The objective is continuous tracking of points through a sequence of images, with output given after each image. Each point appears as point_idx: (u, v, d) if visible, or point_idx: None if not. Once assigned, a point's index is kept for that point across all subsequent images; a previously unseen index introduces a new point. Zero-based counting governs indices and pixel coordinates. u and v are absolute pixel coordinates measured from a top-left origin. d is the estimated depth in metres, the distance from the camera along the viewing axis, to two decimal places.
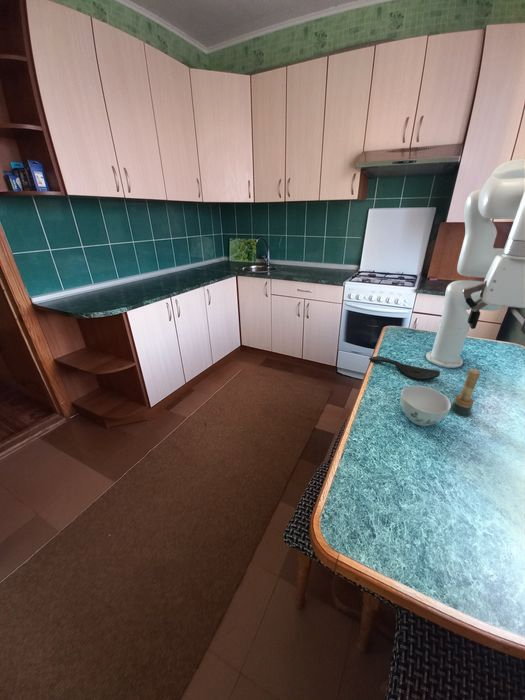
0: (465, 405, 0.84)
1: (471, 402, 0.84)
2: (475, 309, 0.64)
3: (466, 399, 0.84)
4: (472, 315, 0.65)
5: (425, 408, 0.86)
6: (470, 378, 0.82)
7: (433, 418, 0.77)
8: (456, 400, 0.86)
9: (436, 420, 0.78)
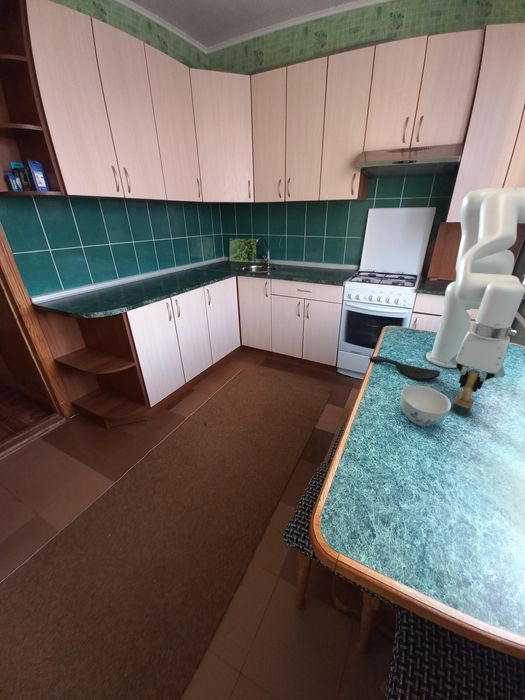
0: (465, 405, 0.84)
1: (471, 402, 0.84)
2: (462, 373, 0.83)
3: (466, 399, 0.84)
4: (461, 377, 0.84)
5: (425, 408, 0.86)
6: (470, 378, 0.82)
7: (433, 418, 0.77)
8: (456, 400, 0.86)
9: (436, 420, 0.78)
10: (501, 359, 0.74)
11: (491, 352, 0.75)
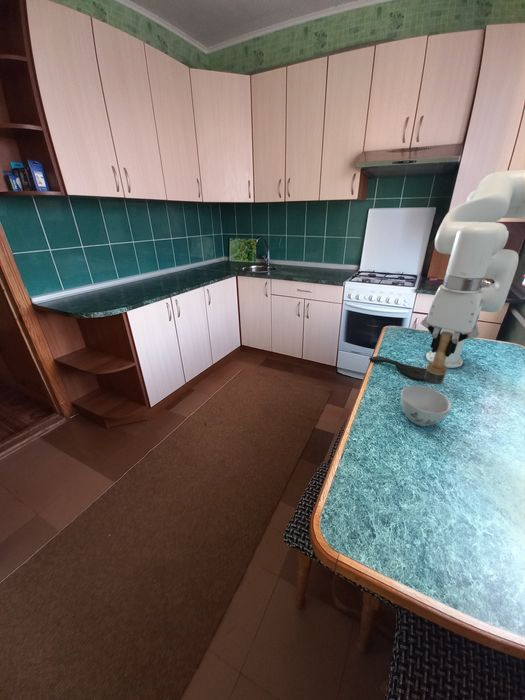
0: (438, 372, 0.76)
1: (444, 369, 0.76)
2: (434, 336, 0.74)
3: (439, 365, 0.76)
4: (433, 341, 0.75)
5: (425, 408, 0.86)
6: (442, 340, 0.73)
7: (433, 418, 0.77)
8: (428, 367, 0.78)
9: (436, 420, 0.78)
10: (474, 315, 0.66)
11: (464, 309, 0.67)
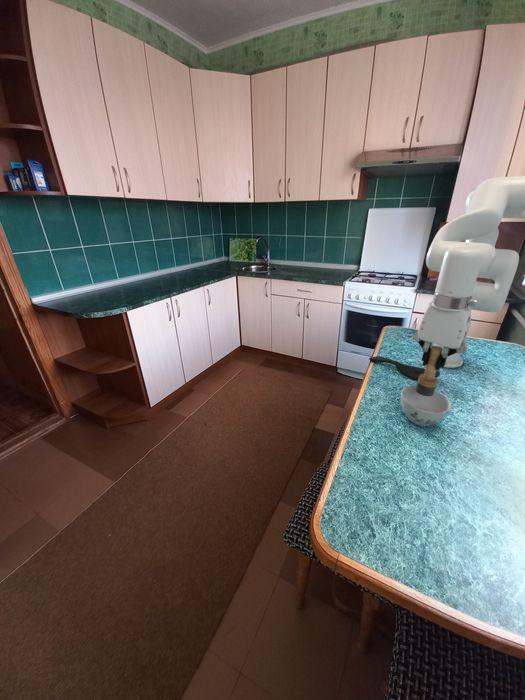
0: (428, 385, 0.79)
1: (435, 381, 0.79)
2: (425, 350, 0.77)
3: (429, 378, 0.79)
4: (423, 354, 0.78)
5: (425, 408, 0.86)
6: (432, 355, 0.76)
7: (433, 418, 0.77)
8: (419, 380, 0.81)
9: (436, 420, 0.78)
10: (462, 332, 0.69)
11: (452, 325, 0.70)
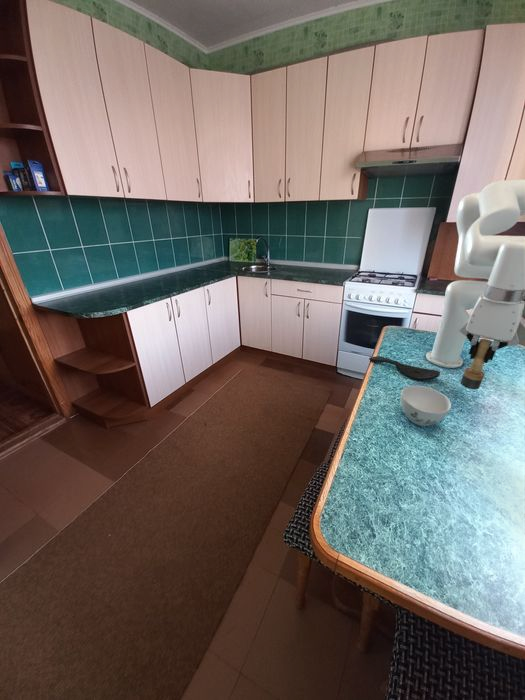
0: (475, 378, 0.80)
1: (482, 374, 0.80)
2: (473, 343, 0.78)
3: (476, 371, 0.80)
4: (471, 348, 0.79)
5: (425, 408, 0.86)
6: (481, 348, 0.77)
7: (433, 418, 0.77)
8: (466, 373, 0.81)
9: (436, 420, 0.78)
10: (515, 325, 0.70)
11: (505, 318, 0.71)
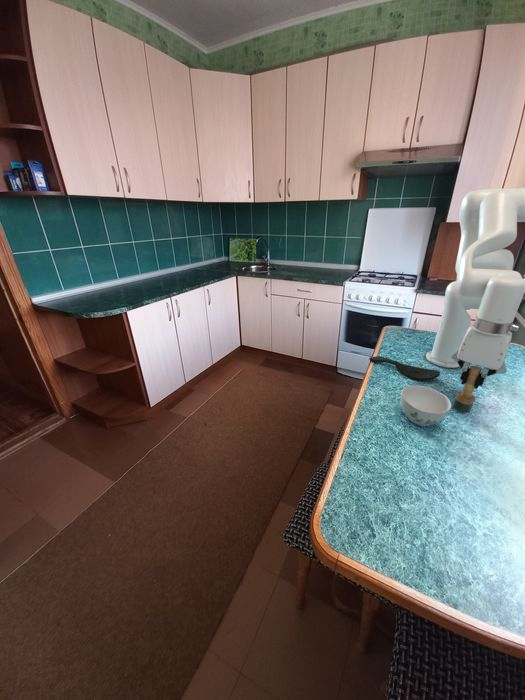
0: (466, 402, 0.83)
1: (472, 399, 0.83)
2: (464, 369, 0.82)
3: (467, 396, 0.84)
4: (462, 373, 0.83)
5: (425, 408, 0.86)
6: (471, 374, 0.81)
7: (433, 418, 0.77)
8: (457, 397, 0.85)
9: (436, 420, 0.78)
10: (503, 355, 0.74)
11: (493, 348, 0.74)
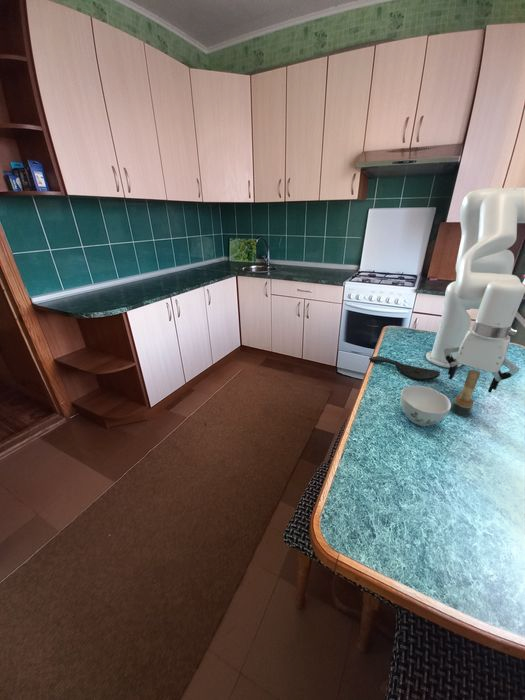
0: (465, 405, 0.84)
1: (471, 402, 0.84)
2: (451, 365, 0.84)
3: (466, 399, 0.84)
4: (450, 369, 0.85)
5: (425, 408, 0.86)
6: (470, 378, 0.81)
7: (433, 418, 0.77)
8: (456, 400, 0.86)
9: (436, 420, 0.78)
10: (501, 358, 0.74)
11: (492, 352, 0.75)
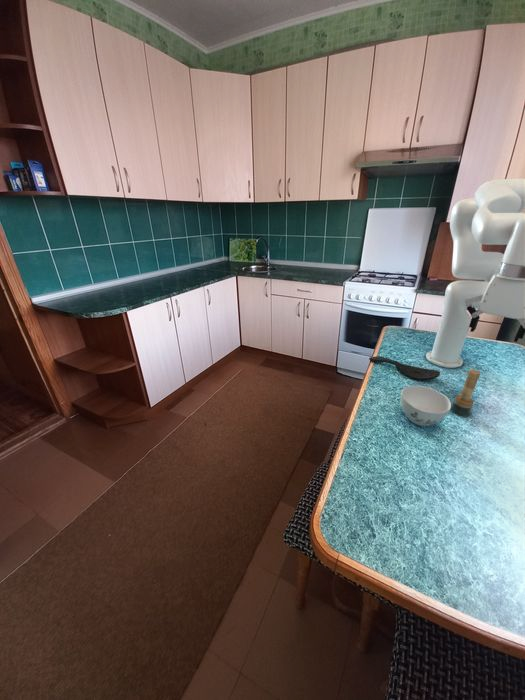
0: (465, 405, 0.84)
1: (471, 402, 0.84)
2: (473, 315, 0.79)
3: (466, 399, 0.84)
4: (472, 320, 0.80)
5: (425, 408, 0.86)
6: (470, 378, 0.81)
7: (433, 418, 0.77)
8: (456, 400, 0.86)
9: (436, 420, 0.78)
10: None
11: (519, 295, 0.70)
